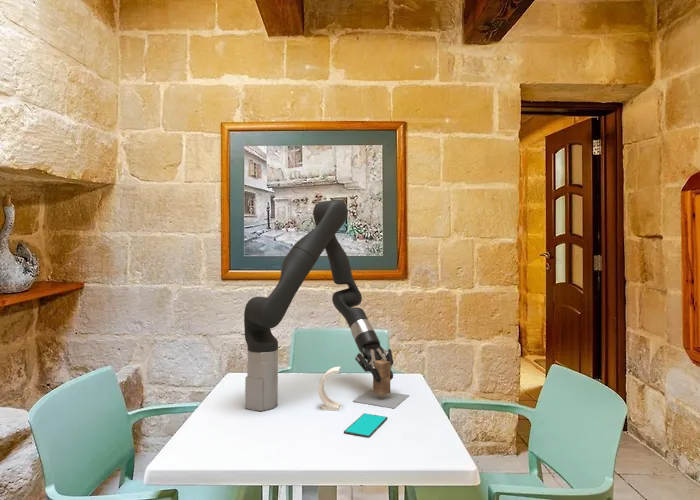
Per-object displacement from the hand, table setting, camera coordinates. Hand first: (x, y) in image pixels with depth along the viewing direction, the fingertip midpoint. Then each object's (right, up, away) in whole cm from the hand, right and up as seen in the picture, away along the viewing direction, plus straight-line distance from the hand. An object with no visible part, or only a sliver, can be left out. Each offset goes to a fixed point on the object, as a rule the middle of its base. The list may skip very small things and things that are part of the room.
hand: (385, 379), depth 147 cm
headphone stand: (-18, -7, -7) cm, 20 cm away
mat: (-1, -7, +2) cm, 7 cm away
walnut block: (-1, -5, +2) cm, 5 cm away
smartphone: (-7, -7, -21) cm, 23 cm away
